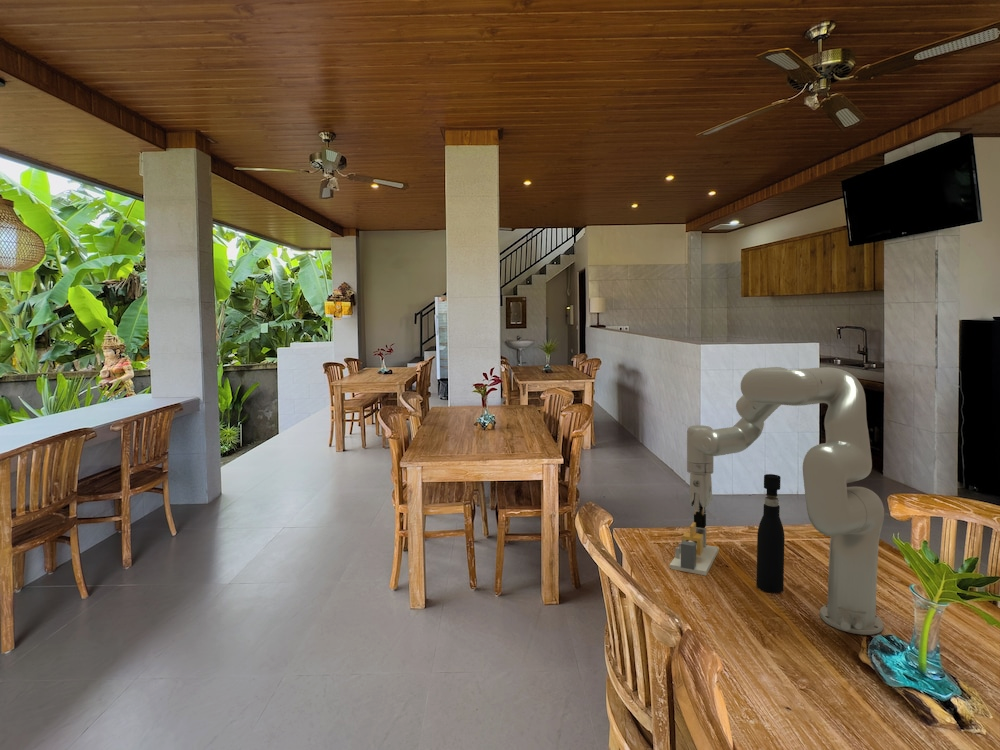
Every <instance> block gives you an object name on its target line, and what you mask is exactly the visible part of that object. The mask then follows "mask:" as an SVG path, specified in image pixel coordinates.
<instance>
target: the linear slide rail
mask: <svg viewBox="0 0 1000 750" xmlns="http://www.w3.org/2000/svg"><path fill="white" fill-rule="evenodd" d="M696 533H698V534H703V552H702V554H701V556H699V555H696V550H697V541H690V540H689V541H683V537H682V538H681V542H678V546H675V556H674V558H673V559H672V560H671V562H670V564H669V569H670V568H671V569H670V570H674V569H675V571H681V572H684V573H685V572H686V573H690V574H696V575H702V576H705V577H706V576H707V575H708V573H709V571H710V569H711V568H712V565H713V563H714V561H715V559H716V557H717V555H718V554H719V550H720V547H719V546H713V545H708V544H707V527H705V528H698V527H696Z"/></svg>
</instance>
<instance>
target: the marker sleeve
mask: <svg viewBox="0 0 1000 750" xmlns="http://www.w3.org/2000/svg"><path fill="white" fill-rule="evenodd" d="M689 527H690V529H689V531H685V532H684V533H683V534H682V538H683V541H697V550H696V555H699V556H701V554H702V552H703V534H698V533H696V522H694V521H692V523H691V524H690V526H689Z"/></svg>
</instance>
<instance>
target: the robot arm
mask: <svg viewBox="0 0 1000 750" xmlns="http://www.w3.org/2000/svg"><path fill="white" fill-rule="evenodd" d="M740 392H741V394H742V396H741V397H740V398H739V399H738V400H737V401H736V403H735V409H736V412H737V413H738V415H739V416H740V417H741V418H740V419H739V420H738V421H737V422H736V423H735V424H734V425H733V426H731V427H730V426H729V427H723V428H722V427H721V428H716V429H713V428H712V427H710V426H708V425H702V424H701V425H699V424H697V425H691V426H689V427H688V428H687V431H686V472H687V473H689V474H690V478H689V505H690V506H691V507H693V522H696V527H698V528H707V514H706V513H707V508H708V507H709V506H710V504H711V503H712V501H713V488H712V487H713V484H712V474H714V457H720V456H726V455H730V454H738V453H741V452H743V451H746V450H747V449H748V448H749V447H750V446H751V445H752V444H753V443H754V442H755V441H756V440H757V439H758V438H759V437H760V436H761V434H762V432H763V431H764V430H763V429H764V425H765V422H766V420H767V419H768V418H769V417H770V416H771V415H773V413H774V412H775V411H776V410H777V409H778V408H779V407H780V406H781V405H782V406H795V407H799V406H809V405H816V404H817V405H819V404H826V405H827V410H826V413H825V416H824V422H823V425H824V430H825V443H823V442H822V443H819V444H816V445H814V446H813V447H811V448H810V449H809V450H807V452H806V454H805V455H804V457H803V462H802V477H803V478H802V479H803V486H804V496H805V505H806V506H805V507H806V513H807V516H808V519H809V521H810V523H811V525H812V526H813V528H814V529H815V530H816V531H817V532H819V533H820V534H822V535H824V536H827V537H830V539H829V540H830V541H829V552H828V575H827V576H828V577H827V578H828V581H827V583H828V584H827V604H825V605H823V606H821V607H820V608H819V617H820V618H821V620H823V622H824V623H826V624H827V625H829V626H830V627H833V628H835V629H837V630H840V631H843V632H847V633H850V634H855V635H862V636H863V635H864V636H865V635H866V636H867V635H868V636H870V635H871V636H872V635H876V634H879V633H881V632H882V631H883V630H884V622H883V620H882V619H881V617H879V616H878V615H877V614H876V613H877V612H876V611H877V587H878V562H879V548H880V547H879V544H880V536H881V534H882V533H881V532H882V529H883V524H884V519H885V508H884V504H883V501H882V499H881V497H879V495H878V494H877V493H875V492H874V491H873V490H872V489H869V488H867V487H864V486H847V484H849V483H854V482H857V481H860V480H861V481H862V480H863V479H865V478H867V477H868V476H869V475H870V474H871V472H872V468H873V459H872V452H871V443H870V434H869V428H868V420H867V401H866V393H865V390H864V387H863V385H862V384H861V382H860V381H859V380H858V378H857V377H856V376H854V375H853V374H852V373H850V372H848V371H846V370H843V369H841V368H836V367H828V366H827V367H811V368H800V369H799V368H798V369H788V368H785V367H781V366H770V367H758V368H752V369H750V370H749V371H747V372H746V373H745V374H744V375H743V377H742V379H741V382H740Z"/></svg>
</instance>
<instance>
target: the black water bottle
mask: <svg viewBox="0 0 1000 750" xmlns="http://www.w3.org/2000/svg"><path fill="white" fill-rule="evenodd" d="M781 479H782V478H781V476H780V475H779V474H772V473H769V474H768V473H767V474H766V473H765V474H764V476H763V488H764V489H765V490H766V493H765V495H766V496H765V498H764V504H763V514H762V517H761V519H760V522H759V526H758V529H757V532H756V533H757V537H756V538H757V539H756V540H757V541H756V543H757V544H756V588H757V589H758V590H760V591H762V592H764V593H768V594H780V593H783V591H784V582H785V581H784V580H785V579H784V578H785V577H784V576H785V575H784V573H785V540H786V539H785V538H786V537H785V530H784V526H783V524H782V523H783V522H782V520H781V517H780V505H779V501H780V500H779V498H778V491H780V490H781Z"/></svg>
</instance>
